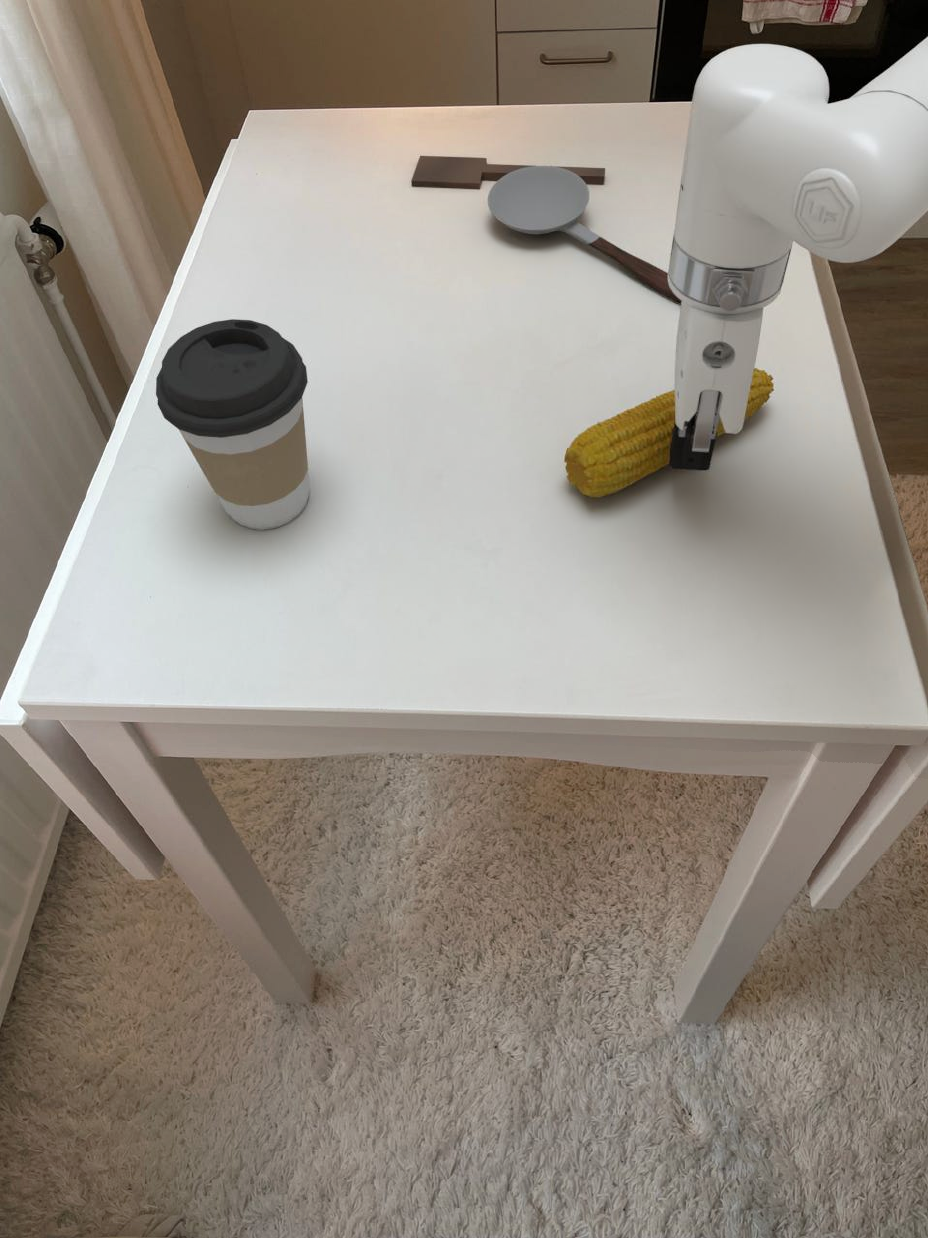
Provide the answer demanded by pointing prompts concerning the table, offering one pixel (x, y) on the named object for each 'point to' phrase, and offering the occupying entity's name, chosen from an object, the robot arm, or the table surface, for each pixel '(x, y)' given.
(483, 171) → the spatula
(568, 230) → the spoon
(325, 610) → the table surface
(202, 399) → the coffee cup
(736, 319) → the robot arm
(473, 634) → the table surface
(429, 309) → the table surface
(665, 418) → the food
